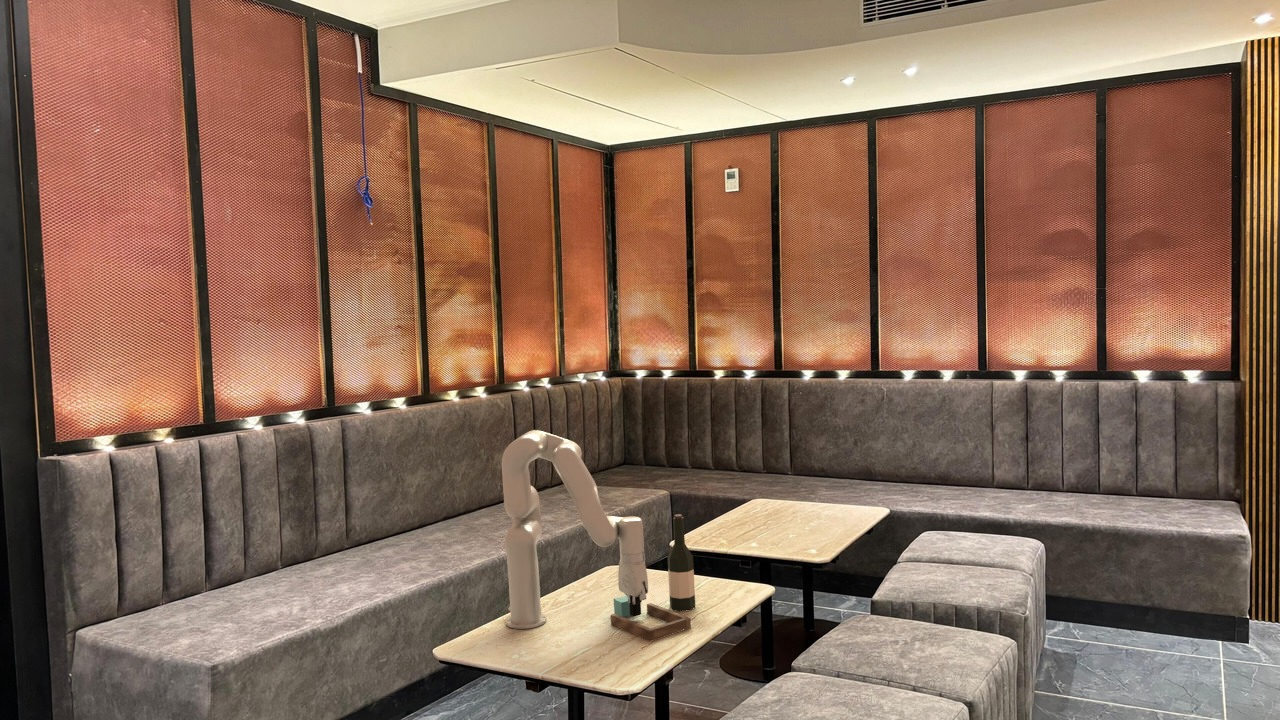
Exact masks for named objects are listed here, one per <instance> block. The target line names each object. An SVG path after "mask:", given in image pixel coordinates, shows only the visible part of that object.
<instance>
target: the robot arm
mask: <svg viewBox="0 0 1280 720" xmlns="http://www.w3.org/2000/svg"><path fill="white" fill-rule="evenodd" d="M582 455H583V453H582V449H581V447H580V446H579V445H578V444H577V443H576V442H574V441H573V440H569V439H566V438H564V437H560V436H558V435H554V434H551V433H549V432H545V431H542V430H537V429H532V430H530V431H526V432H525V433H524V434H522V435H521V436H518V437H517V438H516V439H514V441H512V442H511V443H510V444H509V445H507V447H506V448H505V449H504V451H503V454H502V458H501V475H502V489H503V503H504V504H503V506H504V509H505V512H506V514H507V516H508V517H510V519H511V521H512V522H511V523H512V525H511V526H510V527H509V529H507V532H506V535H505V536H504V550H505V555H506V556H505V557H506V562H507V564H506V565H507V575H508V577H507V578H508V590H509V591H508V593H509V606H508V608H507V609H508V611H509V612H510V616H509V617H507V619H506V620H505V625H506V626H507V627H509V628H511V629H517V630H525V629H527V630H528V629H534V628H537V627H540V626H542V625H544V624H545V623H546V622H547V616H546V614H544V613H542V607H541V587H540V574H539V573H540V571H539V561H538V560H539V559H538V553H537V543H538V542H539V541H540V538H541V536H542V531H543V529H542V528H543V527H542V526H543V525H542V515H541V514H542V512H541V502H540V496H539V493H538V490H536V489H537V488H535V487H534V486H533V485H531V473H530V469H529V468H530V467H529V465H530V463H531V462H533V461H534V460H536V459H538V458H540V459H542V460H546V461H549V462H551V463H552V465H553V467H554V469H555V471H556V473H557V474H558V475H559V477H560V479H561V480H562V482H563V485H564V486H565V488H566V490H567V492H568V493H569V495H570V496H571V499H572V502H573V504H574V507H575V508H576V509H575V510H576V511H577V513H578V516H579V518H580V520H581V522H582V525H583V526H584V528H585V530H586V532H587V533H588V535H589V536H590V538H591V540H592V541H593V542H594V544H596V545H597V546H598V547H602V548H603V547H604V548H607V547H609V546H612V545H613V544H614V543H615V541H616V540H617V539H618V540H619V557H620V560H619V563H618V570H617V572H618V574H617V575H618V577H617V579H618V580H617V581H618V583H617V584H618V590H619V591H620V592H621V593H623V594H624V596H627V597H628V602H629V606H630V616H629V617H637V616H641V615H642V604H641V603H642V601H644V600H647V594H648V592H649V579H648V572H647V566H646V563H645V562H646V561H645V545H644V543H645V542H644V540H645V539H644V525H643V520H642V518H641V517H639V516H634V515H633V516H625V517H621V516H613V515H607V514H606V513H605V511H604V509H603V506H602V504H601V501H600V497H599V492H598V491H599V490H598V487H597V484H596V482H595V479H594V478H593V476H592V475H591V473H590V471H589V470H588V468H587V466H586V465H585V462H584V461H583V459H582Z"/></svg>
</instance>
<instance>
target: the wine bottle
mask: <svg viewBox="0 0 1280 720" xmlns="http://www.w3.org/2000/svg"><path fill="white" fill-rule="evenodd" d="M672 520H673V521H672V522H673V541H674V544H673V545H672V547H671V548H670V550H669V552H668V555H667V569H668V570H667V571H668V572H667V573H668V592H669V607H670V609H671V611H675V610H677V611H676V612H680V611H681V612H687V611H686V610H690V611H692V610H694V609H695V608H696V590H695V588H696V587H695V571H694V568H695V567H694V556H693V553H691V551H690V549H689V548H688V546H687V545H686V541H685V537H686V536H685V519H684V516H683V515H682V514H679V513H678V514H674V517H673V518H672ZM693 608H694V609H693Z"/></svg>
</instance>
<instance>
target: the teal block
mask: <svg viewBox="0 0 1280 720" xmlns="http://www.w3.org/2000/svg"><path fill="white" fill-rule="evenodd" d="M613 610H614V611H613V614H617V615H619V616H622V617H624V618H628V617H631V616H630V606H629V602H628V597H627V595H623V596H620V597H616V598H613Z"/></svg>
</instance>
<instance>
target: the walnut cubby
mask: <svg viewBox="0 0 1280 720" xmlns="http://www.w3.org/2000/svg"><path fill="white" fill-rule="evenodd" d="M646 613H647V614H648V615H651V616H653V617H655V616H656V618H658V619H661V620H662V621H665V620H666V622H667V623H663V624H660V625H657V626H654V627H648V626H645V625H644V624H641V623H638V622H636V621H634V620H631V619H628V618H627V617H625V618H624V617H622V616H619V615H617V614H614V613H611V614H610V624H611V626H614V627H616V628H619V629H621V630H623V631H625V632H627V633H630V634H633V635H635V636H637V637H639V638H642V639H644V640H646V641H649V642H653V641H655V639H656V640H658V638H659V639H662V638H664V636H665V637H667V635H668V636H670V634H671V635H673V634H672V633H674V634H676V633H675V632H677V633H679V632H678V631H680V632H682V631H681V630H683V629H686V630H688V629H687V628H689V629H691V628H692V625H691V623H692V622H691V617H688V616H687V615H683V614H681V613H678V612H677V611H674V610H670V609H667V608H665V607H663V606H659V605H657V604H654V603H652V602H649V603H646ZM690 627H691V628H690ZM683 631H684V630H683ZM661 637H662V638H661Z"/></svg>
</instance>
